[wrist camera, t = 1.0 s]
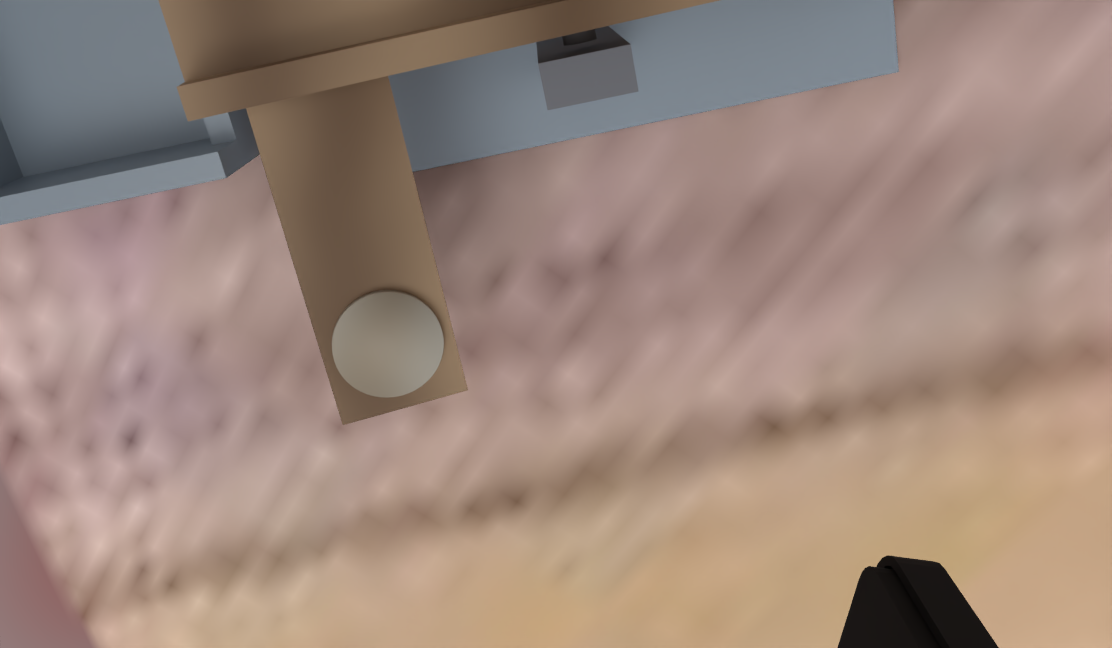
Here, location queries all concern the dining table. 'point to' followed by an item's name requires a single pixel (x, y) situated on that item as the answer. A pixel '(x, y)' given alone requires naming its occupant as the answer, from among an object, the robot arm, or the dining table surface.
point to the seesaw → (359, 157)
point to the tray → (100, 109)
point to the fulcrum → (639, 74)
